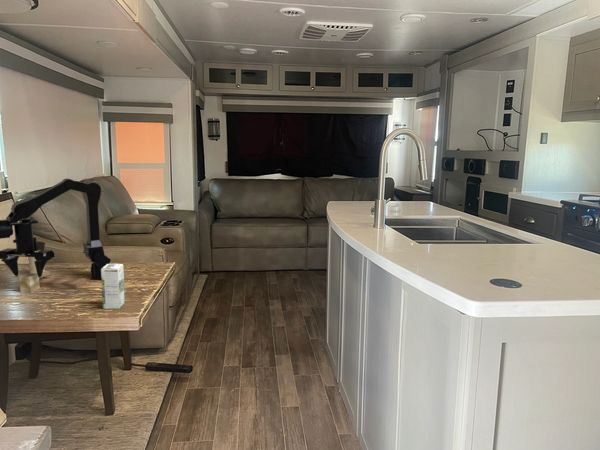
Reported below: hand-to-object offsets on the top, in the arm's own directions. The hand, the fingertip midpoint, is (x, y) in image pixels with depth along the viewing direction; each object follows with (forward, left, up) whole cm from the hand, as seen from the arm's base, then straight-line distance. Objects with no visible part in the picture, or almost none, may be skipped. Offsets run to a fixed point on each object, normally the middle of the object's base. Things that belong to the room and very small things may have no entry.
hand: (28, 276), depth 168 cm
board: (-6, -7, -6) cm, 11 cm away
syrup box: (-39, +11, -6) cm, 41 cm away
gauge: (0, -4, -6) cm, 7 cm away
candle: (+10, -19, -6) cm, 22 cm away
